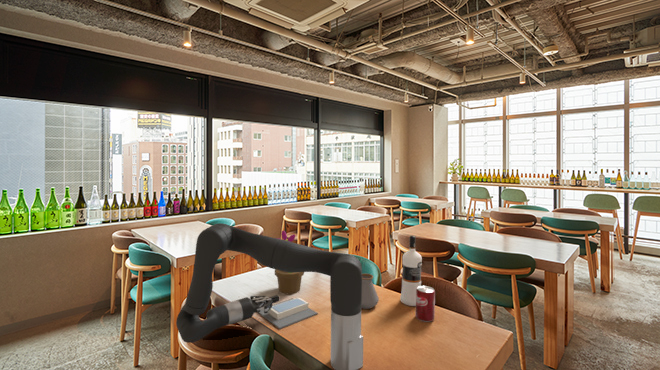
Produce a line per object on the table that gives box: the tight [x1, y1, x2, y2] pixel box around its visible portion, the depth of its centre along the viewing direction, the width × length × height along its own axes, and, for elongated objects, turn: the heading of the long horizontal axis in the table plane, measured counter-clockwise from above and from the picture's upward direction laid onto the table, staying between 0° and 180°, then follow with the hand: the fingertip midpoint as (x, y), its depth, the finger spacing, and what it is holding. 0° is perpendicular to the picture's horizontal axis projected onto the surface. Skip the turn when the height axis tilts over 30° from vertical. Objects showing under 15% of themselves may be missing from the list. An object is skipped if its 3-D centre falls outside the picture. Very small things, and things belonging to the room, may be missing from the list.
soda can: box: [415, 285, 436, 323], centre depth 124 cm, size 7×7×12 cm
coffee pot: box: [361, 273, 380, 310], centre depth 138 cm, size 21×12×15 cm, turn 58°
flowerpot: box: [274, 230, 305, 295], centre depth 150 cm, size 14×14×30 cm
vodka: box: [399, 235, 423, 307], centre depth 138 cm, size 9×9×30 cm
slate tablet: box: [268, 297, 309, 320], centre depth 128 cm, size 7×3×15 cm
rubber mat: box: [257, 297, 318, 330], centre depth 128 cm, size 18×18×1 cm
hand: (278, 297), depth 125 cm, fingers closed
